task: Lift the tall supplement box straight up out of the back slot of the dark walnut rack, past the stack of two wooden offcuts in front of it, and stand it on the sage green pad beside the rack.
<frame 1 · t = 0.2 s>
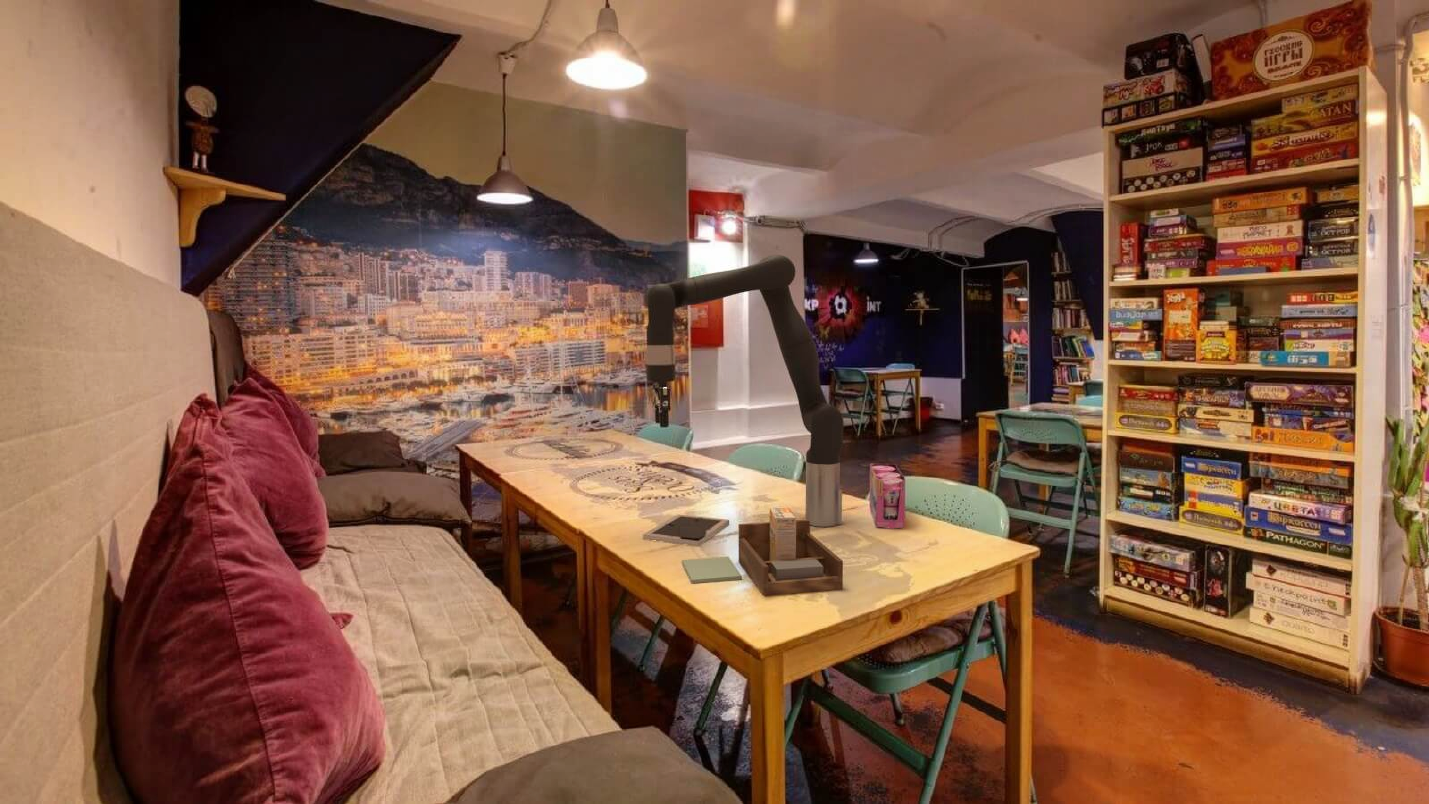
hand: (661, 425, 179), 29 cm above the table, tool pointing down, fingers open, 8 cm apart
supplement box: (782, 569, 155), on the table
lower offcut: (796, 587, 145), on the table, touching upper offcut
gum box: (886, 518, 197), on the table
upper offcut: (796, 575, 145), point 2 cm above the table, touching lower offcut
rack: (787, 574, 151), on the table
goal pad: (710, 571, 154), on the table
picture frame: (687, 535, 184), on the table
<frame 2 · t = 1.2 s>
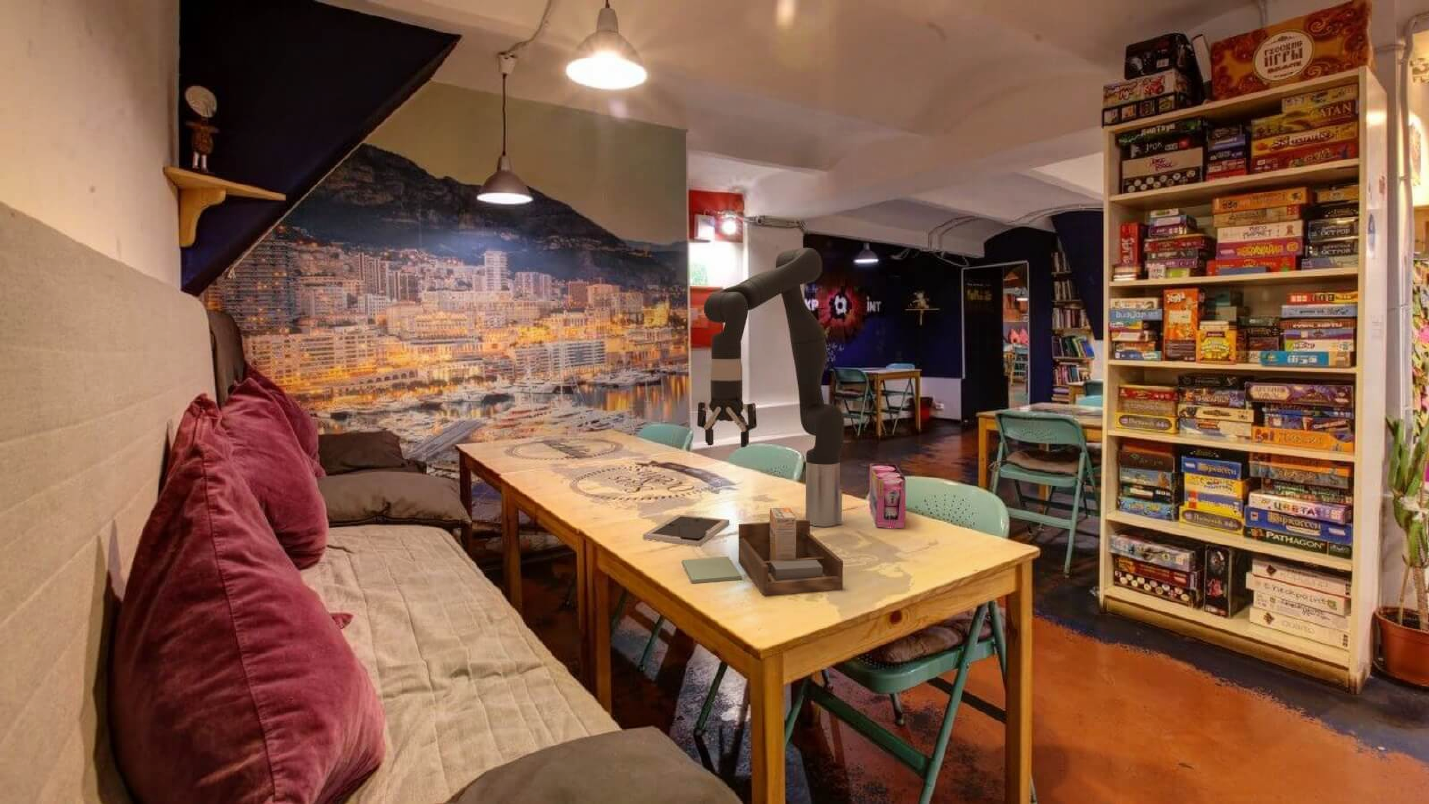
hand: (726, 446, 164), 26 cm above the table, tool pointing down, fingers open, 8 cm apart
nothing on the table moved.
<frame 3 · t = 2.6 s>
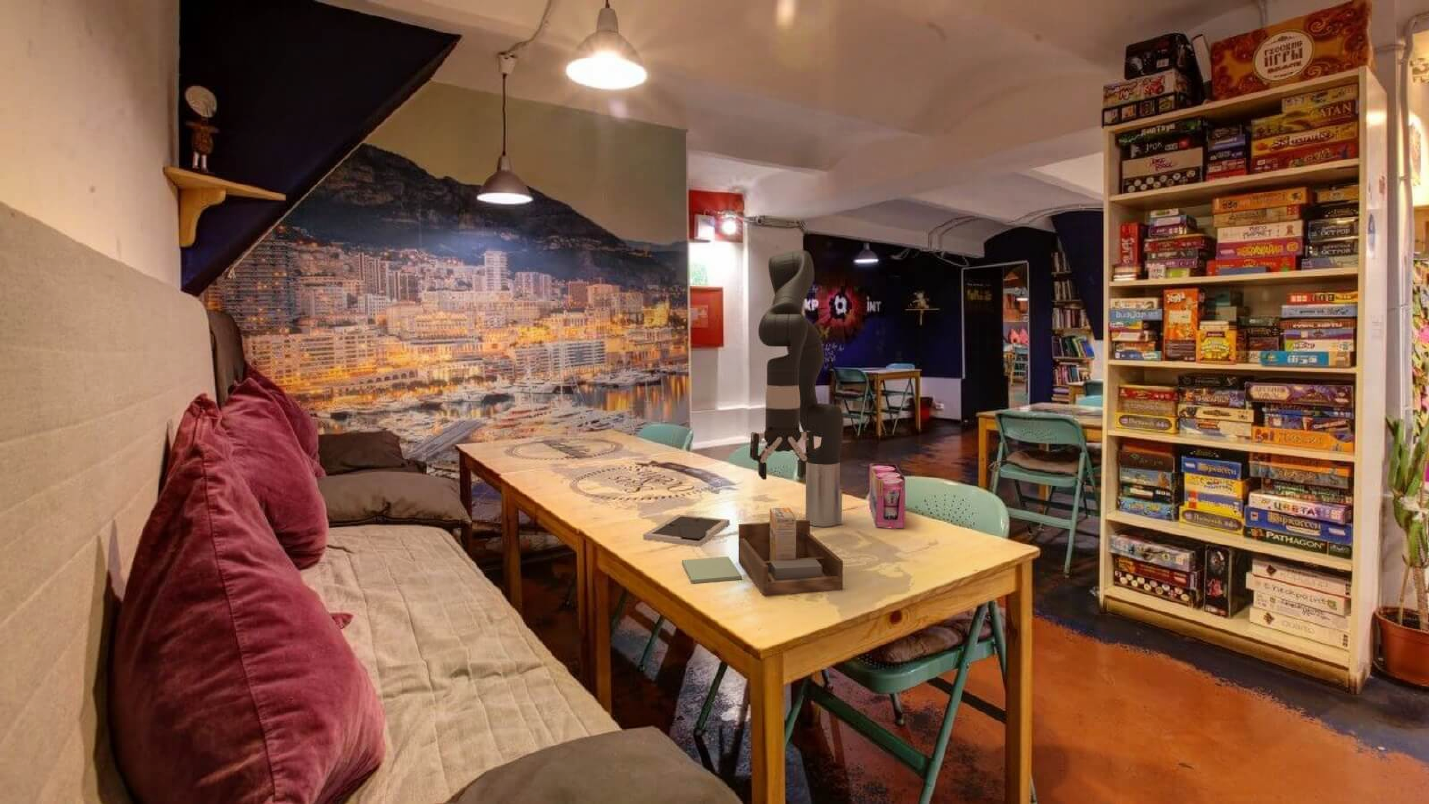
hand: (782, 478, 153), 21 cm above the table, tool pointing down, fingers open, 8 cm apart
lower offcut: (796, 586, 146), on the table
upper offcut: (795, 575, 145), point 2 cm above the table
everything else where it was.
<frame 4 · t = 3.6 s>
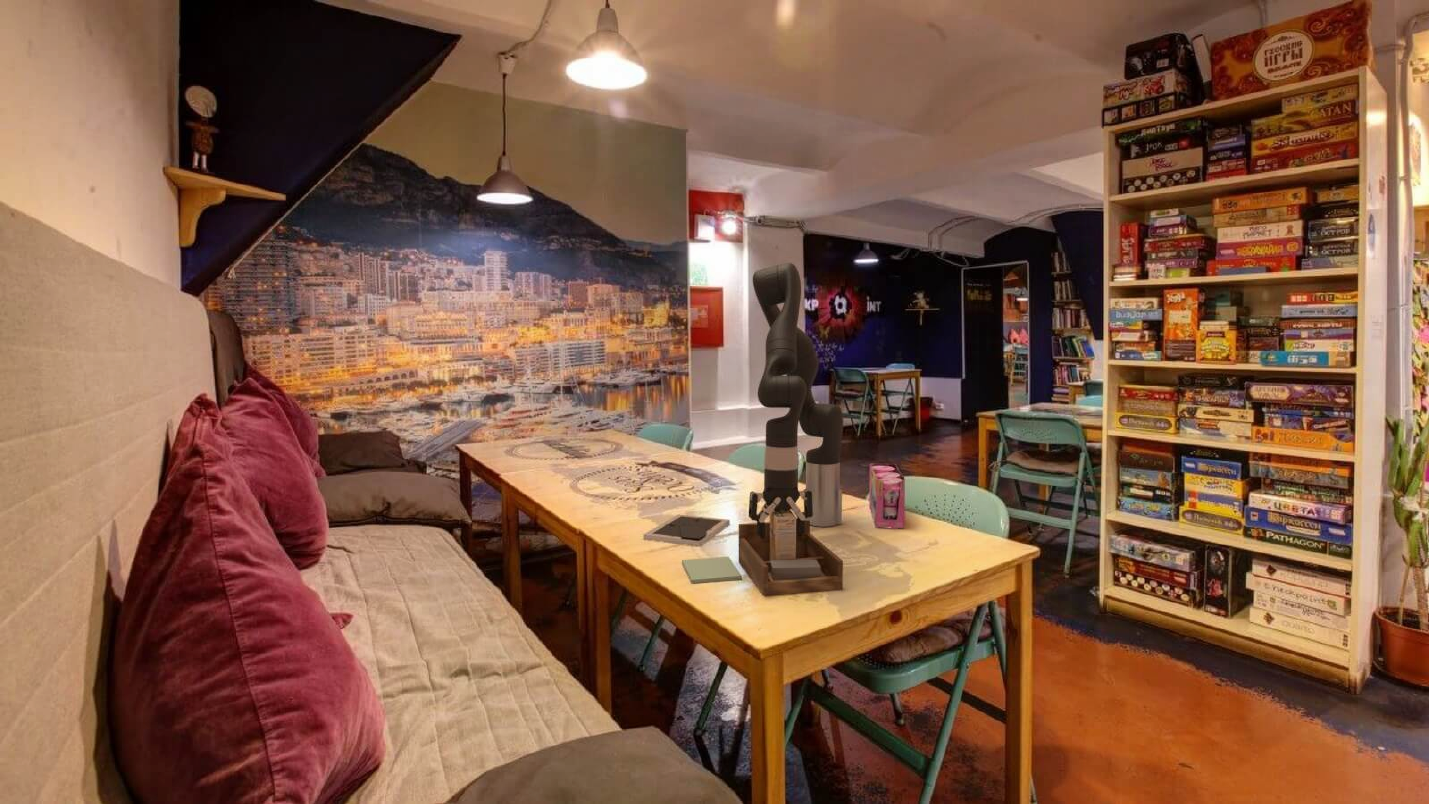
hand: (780, 536, 154), 7 cm above the table, tool pointing down, fingers open, 8 cm apart
lower offcut: (796, 586, 146), on the table, touching upper offcut
upper offcut: (794, 575, 145), point 2 cm above the table, touching lower offcut
everything else where it was.
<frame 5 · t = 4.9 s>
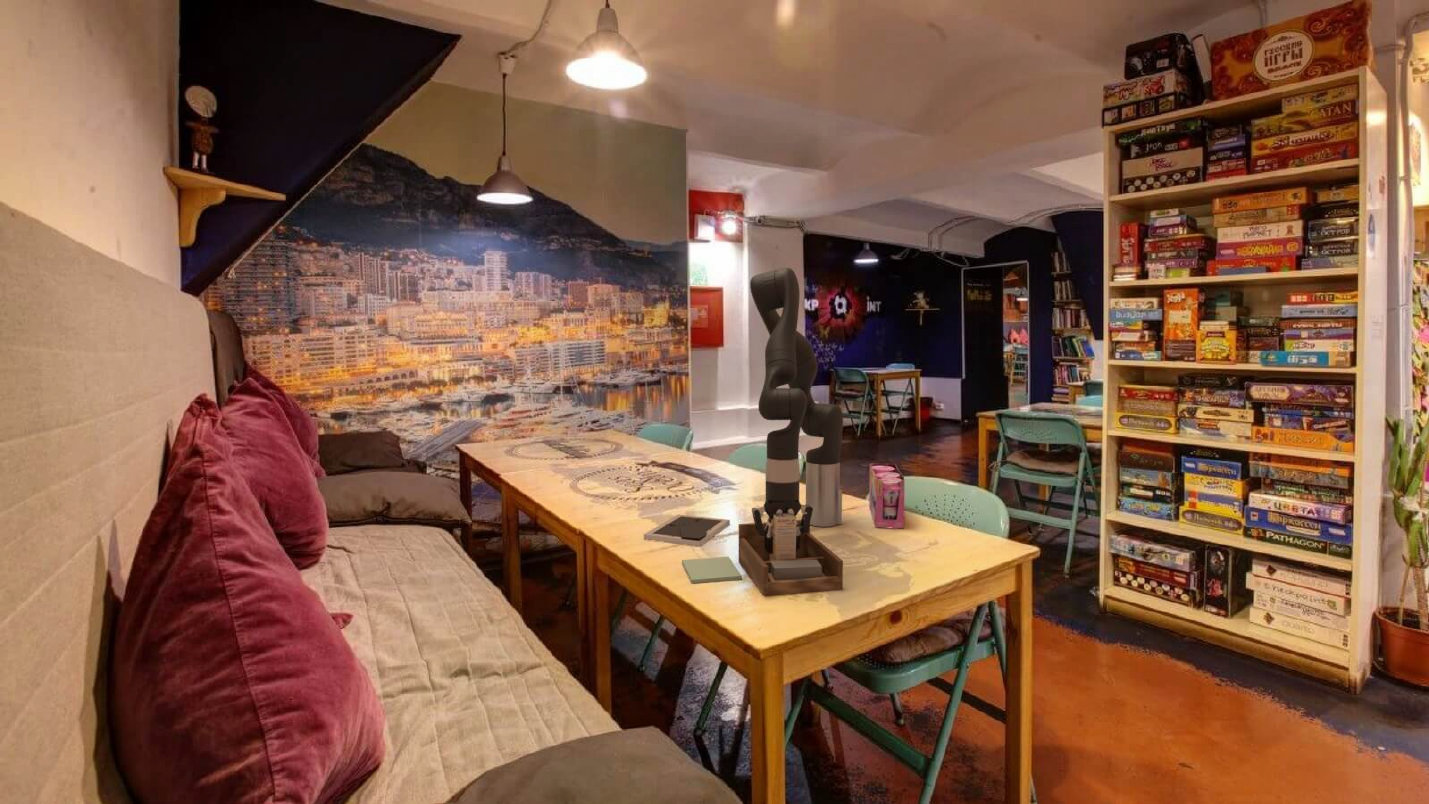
hand: (782, 551, 155), 4 cm above the table, tool pointing down, fingers closed on supplement box, 5 cm apart
supplement box: (782, 569, 155), on the table, touching gripper
everything else where it was.
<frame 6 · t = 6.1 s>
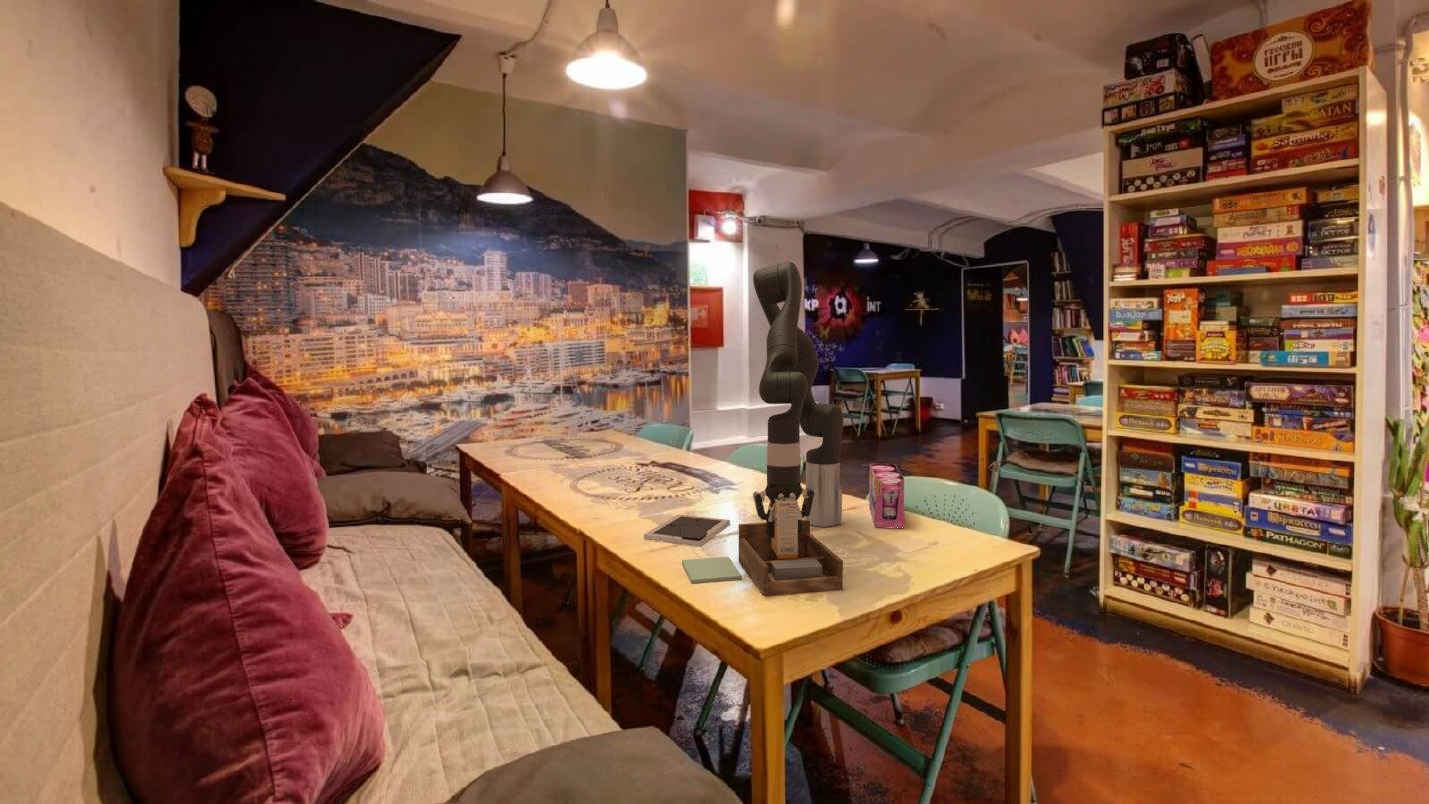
hand: (783, 535, 154), 8 cm above the table, tool pointing down, fingers closed on supplement box, 5 cm apart
supplement box: (784, 553, 155), point 3 cm above the table, touching gripper
everything else where it was.
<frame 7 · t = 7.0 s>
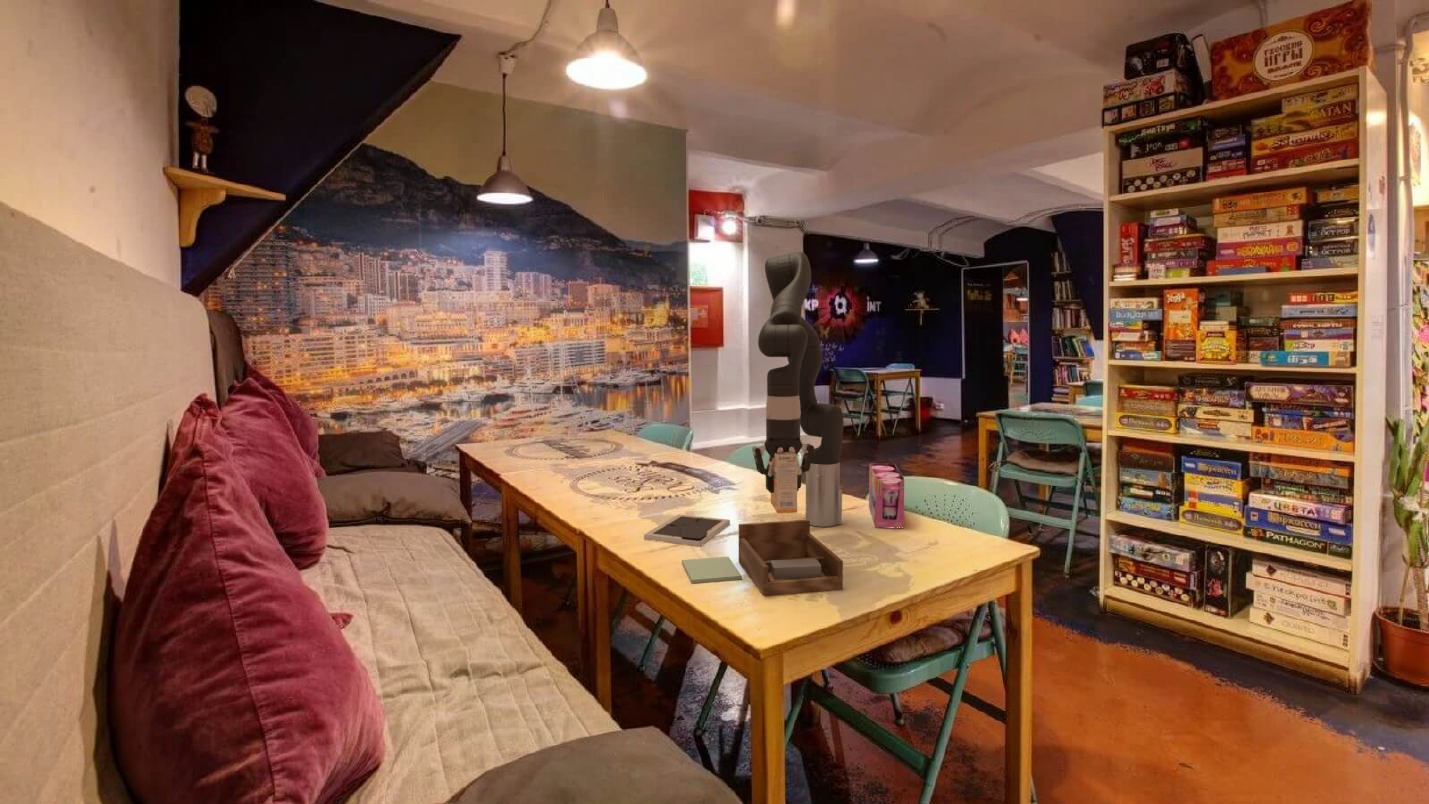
hand: (783, 491, 153), 18 cm above the table, tool pointing down, fingers closed on supplement box, 5 cm apart
supplement box: (783, 509, 154), point 14 cm above the table, touching gripper
upper offcut: (795, 574, 146), point 2 cm above the table, touching lower offcut, rack
everything else where it was.
when the fingers open (6 cm above the table, at t = 12.4 s): supplement box drops 1 cm, resting on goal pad.
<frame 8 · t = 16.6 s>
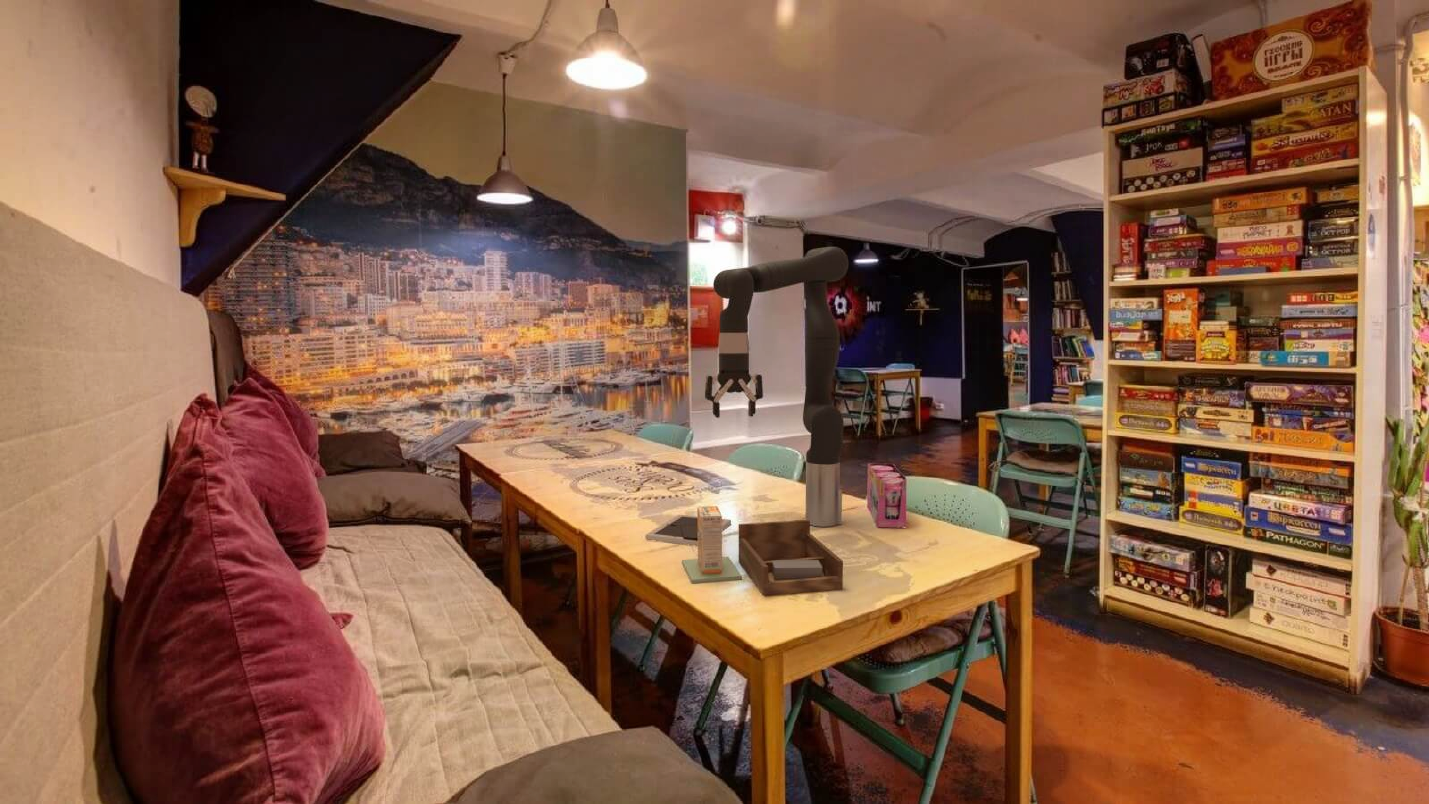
hand: (734, 416, 171), 32 cm above the table, tool pointing down, fingers open, 8 cm apart
supplement box: (709, 568, 154), point 1 cm above the table, touching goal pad
lower offcut: (796, 587, 145), on the table
upper offcut: (796, 575, 145), point 2 cm above the table
everything else where it was.
at the end: supplement box inside the target area (0.3 cm from its centre), point 0.6 cm above the table; supplement box tilted 0°; upper offcut moved 0.6 cm from its start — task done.
